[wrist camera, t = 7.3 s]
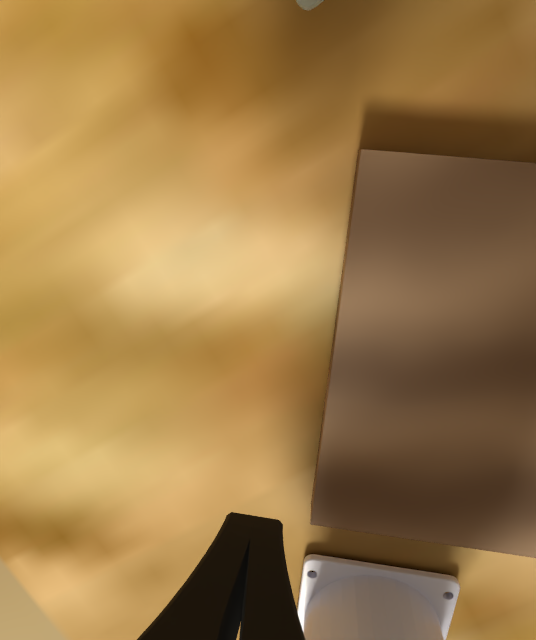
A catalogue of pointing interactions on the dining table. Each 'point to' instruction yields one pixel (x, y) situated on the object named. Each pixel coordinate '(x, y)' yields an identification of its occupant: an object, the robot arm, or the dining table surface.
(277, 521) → the robot arm
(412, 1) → the dining table surface
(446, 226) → the bench board
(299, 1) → the metal bracket
